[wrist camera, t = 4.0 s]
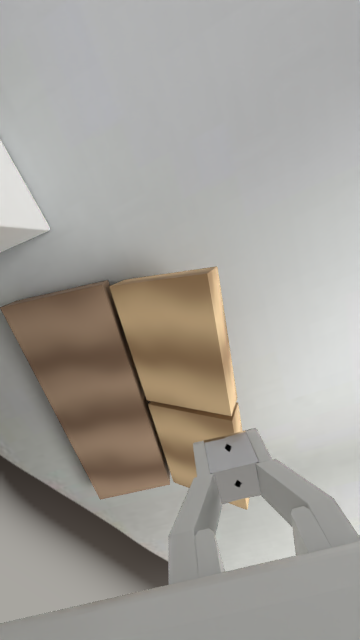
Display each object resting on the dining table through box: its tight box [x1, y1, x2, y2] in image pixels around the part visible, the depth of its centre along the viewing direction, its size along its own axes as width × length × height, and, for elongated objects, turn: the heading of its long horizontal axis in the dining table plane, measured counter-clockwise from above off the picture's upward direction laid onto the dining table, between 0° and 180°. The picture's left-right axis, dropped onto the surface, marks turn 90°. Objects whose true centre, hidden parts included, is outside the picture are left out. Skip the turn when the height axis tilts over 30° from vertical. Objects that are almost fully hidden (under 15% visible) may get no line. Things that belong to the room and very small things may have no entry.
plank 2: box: [148, 401, 249, 510], centre depth 22 cm, size 11×8×2 cm
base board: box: [0, 280, 170, 499], centre depth 22 cm, size 23×8×2 cm, turn 12°
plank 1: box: [109, 267, 237, 416], centre depth 18 cm, size 11×8×2 cm
